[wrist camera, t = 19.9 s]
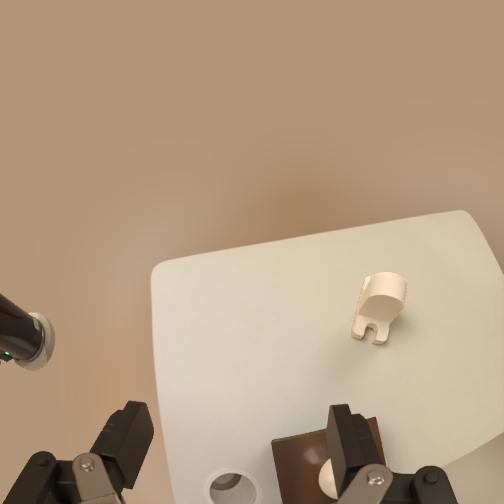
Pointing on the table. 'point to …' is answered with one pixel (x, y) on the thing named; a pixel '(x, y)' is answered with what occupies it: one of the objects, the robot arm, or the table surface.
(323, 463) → the milkshake
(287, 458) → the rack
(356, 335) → the cream mounting bracket
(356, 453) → the robot arm
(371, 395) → the table surface
